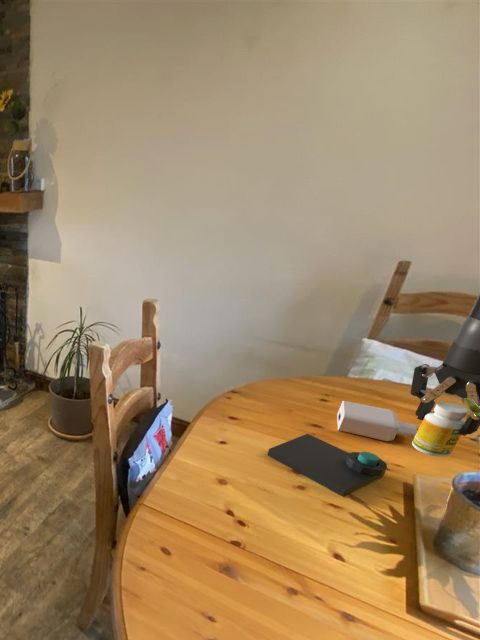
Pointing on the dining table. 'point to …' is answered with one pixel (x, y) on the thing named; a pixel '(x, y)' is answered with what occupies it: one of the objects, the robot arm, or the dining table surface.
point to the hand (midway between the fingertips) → (442, 425)
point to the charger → (372, 422)
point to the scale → (327, 464)
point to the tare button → (368, 458)
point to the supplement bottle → (440, 430)
